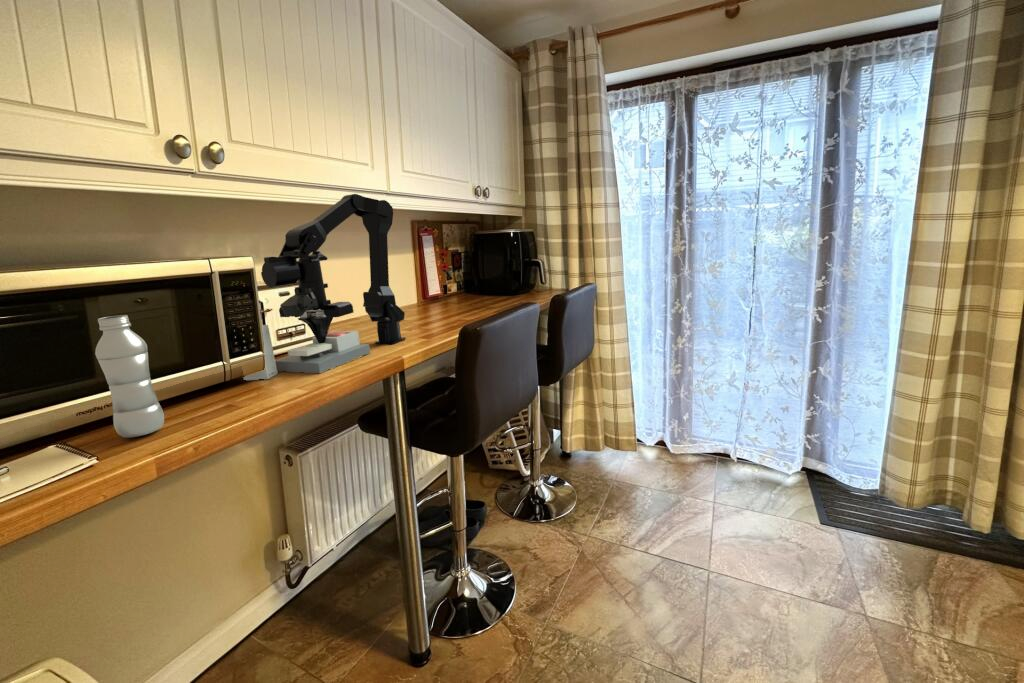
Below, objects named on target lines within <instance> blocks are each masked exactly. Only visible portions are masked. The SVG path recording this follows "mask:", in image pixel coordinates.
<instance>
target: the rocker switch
mask: <svg viewBox="0 0 1024 683" xmlns="http://www.w3.org/2000/svg"><path fill="white" fill-rule="evenodd" d="M329 349H332V344H327V343H313V342H312V343H309V344H306V345H305V344H304V345H303V346H299V347H295V348H291V349H288V350H287V355H288V356H291V355H292V356H310V355H313V354H316V353H319V352H322V351H325V350H329Z"/></svg>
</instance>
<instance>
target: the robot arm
mask: <svg viewBox="0 0 1024 683" xmlns="http://www.w3.org/2000/svg"><path fill="white" fill-rule="evenodd" d="M352 215H354V216H357V217H359V218H361V219H362V224H363V227H365V230H366V232H367V233H368V243H369V244H368V247H369V248H368V250H369V271H370V272H369V273H370V277H369V278H370V285H369V286H370V287H369V289H368V290H367V291H363V292H362V293H363V294H362V296H363V297H362V298H363V305H362V307H364V309H365V310H364V311H365V313H366V314H367V315H368V316H369V318H370V321H371V322H373V323H374V322H376V326H377V327H376V331H377V339H378V340H376V341H374V343H375V345H376V344H377V345H378V344H379V345H380V344H383V345H394V344H397V343H399V342H402V341H404V340H406V337H405V336H404V337H402V335H401V334H402V333H401V326H400V322H401V321H405V320H404V319H405V314H406V312H404V311H403V310H402V309H401V308H400V307H399V306H398V305H397V301H396V296H395V293H394V292H393V290H392V289H391V286H390V277H389V276H390V275H389V253H388V252H389V250H388V249H389V248H388V235H389V232H390V230H391V227H392V225H393V218H394V208H393V206H392V205H391V204H390V202H388V201H387V200H385V199H383V200H382V199H380V200H379V199H376V198H371V197H365V196H362V195H360V194H358V193H351V194H346V195H343V196H342V197H341V199H340V200H338V201H337V202H336V203H334V204H333V205H332V206H331V207H329V208H328V209H327V210H325V211H324V212H323V213H321V214H320V215H319V216H317V217H316V218H314V219H313V220H311V221H309V222H307V223H304V224H301V225H299V226H296V227H294V228H292V229H290V230H288V231H287V232H285V233H286V234H285V235H284V236H285V241H284V244H283V246H282V249H281V250H280V253H279V255H278V256H264V257H263V262H264V263H263V264H262V266H261V272H260V274H261V278H262V280H263V283H264V284H265V286H267V287H268V288H272V289H273V288H277V287H285V286H290V285H294V284H297V283H298V284H297V285H298V286H296V287H294V295H291V296H290V297H288V298H287V299H285V300H284V301H283V302H282V303H281V304H280V307H279V308H278V313H279V317H280V318H291V317H294V318H297V320H298V321H301V322H303V323H305V324H306V325H307V327H308V328H309V329H310V331H311V332H312V334H313V336H314V337H316V339H317V341H318V342H319V343H325V340H326V336H327V333H329V330H330V326H331V324H332V321H333V320H334V318H341V317H344V316H347V315H350V314H353V313H355V311H354V306H353V304H352V303H351V302H350V301H336V302H332V301H331V299H327V295H326V294H327V293H326V290H325V289H327V288H329V285H328V282H327V283H325V282H324V277H323V273H322V266H321V261H327V260H328V257H327V256H326V255H324V254H323V253H322V252H321V251H319V249H321V247H322V246H323V245H324V243H325V242H326V240H327V236H328V235H330V233H331V232H332V231H333V230H335V229H336V228H337V227H339V226H340V225H341V224H343V222H345V221H346V220H347V219H348V218H350V217H351V216H352ZM297 259H298V260H297Z"/></svg>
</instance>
